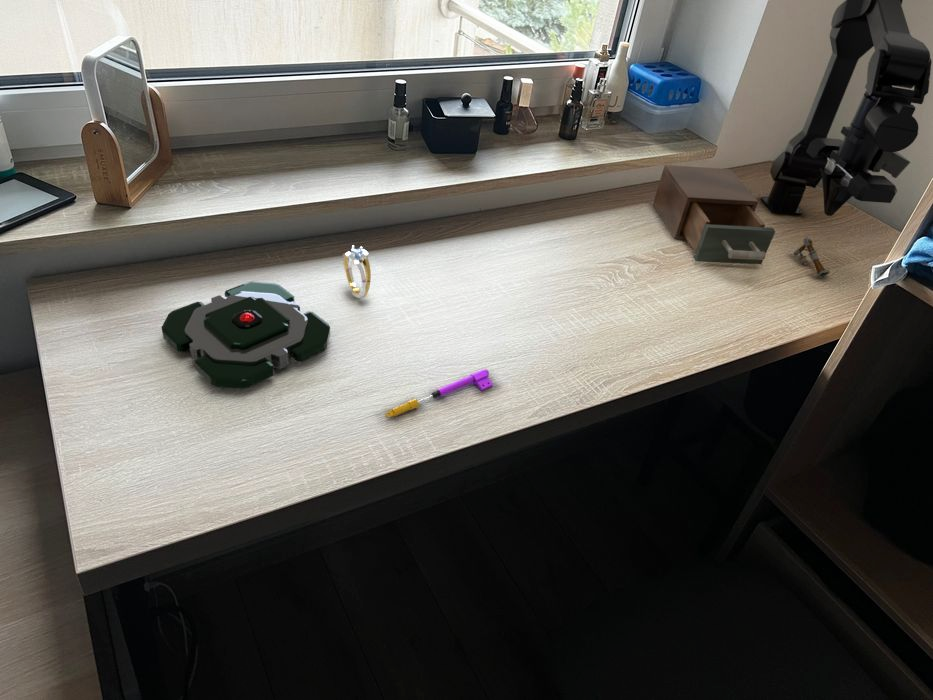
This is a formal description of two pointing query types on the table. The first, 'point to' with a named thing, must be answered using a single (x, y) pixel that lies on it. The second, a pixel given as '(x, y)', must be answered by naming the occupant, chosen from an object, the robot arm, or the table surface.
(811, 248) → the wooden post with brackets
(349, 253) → the ring
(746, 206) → the drawer
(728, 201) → the cabinet
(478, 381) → the purple and gold rod
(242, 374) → the clover-shaped pad
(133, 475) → the table surface
